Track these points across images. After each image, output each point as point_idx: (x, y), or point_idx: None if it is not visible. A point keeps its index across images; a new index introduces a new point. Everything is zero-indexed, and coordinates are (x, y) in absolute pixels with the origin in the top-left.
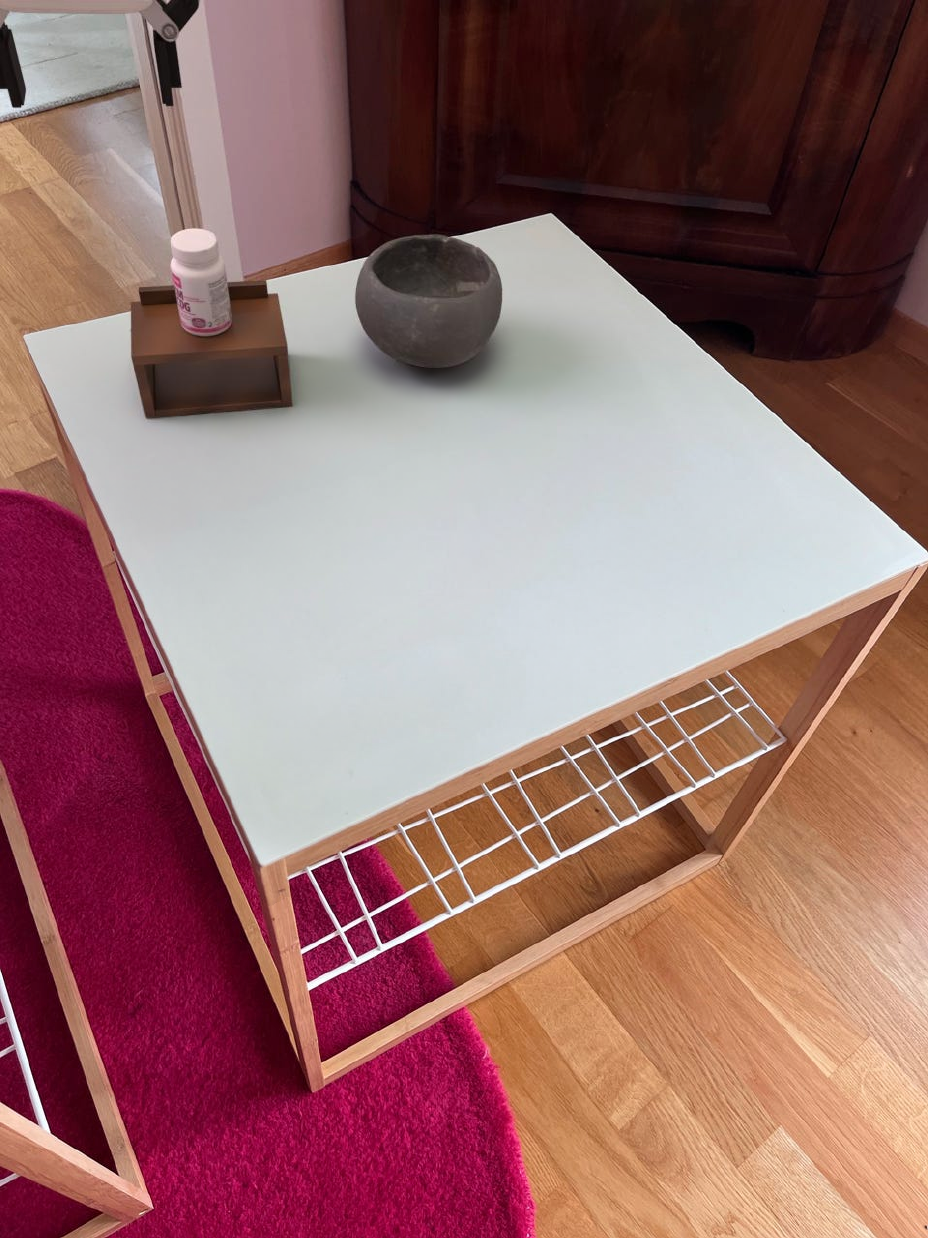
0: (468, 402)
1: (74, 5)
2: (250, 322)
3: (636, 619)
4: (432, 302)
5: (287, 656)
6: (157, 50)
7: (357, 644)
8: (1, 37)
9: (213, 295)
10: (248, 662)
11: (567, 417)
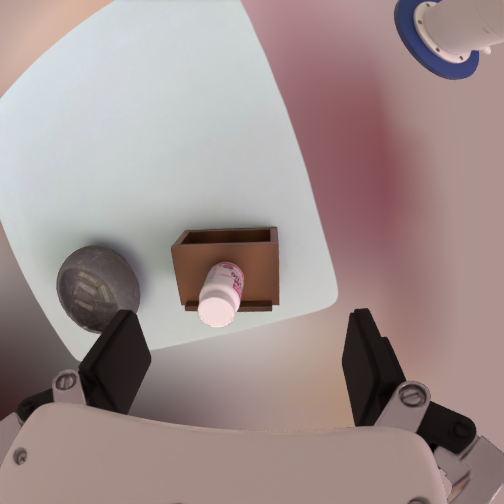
0: (91, 226)
1: (188, 438)
2: (196, 275)
3: (48, 73)
4: (80, 265)
5: (195, 30)
6: (96, 362)
7: (160, 39)
8: (382, 395)
9: (211, 277)
10: (216, 27)
11: (52, 211)
